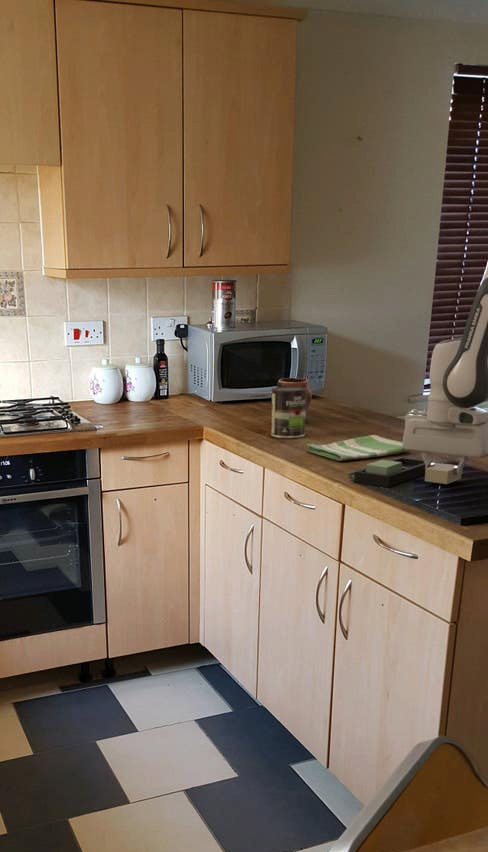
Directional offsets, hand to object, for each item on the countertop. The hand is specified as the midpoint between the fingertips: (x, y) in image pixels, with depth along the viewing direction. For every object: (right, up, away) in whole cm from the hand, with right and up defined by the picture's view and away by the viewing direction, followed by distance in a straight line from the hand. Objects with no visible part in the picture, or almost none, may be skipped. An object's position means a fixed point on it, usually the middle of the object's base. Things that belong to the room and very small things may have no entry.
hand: (443, 472), depth 201 cm
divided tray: (-9, 0, +9) cm, 13 cm away
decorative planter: (-22, +27, +86) cm, 93 cm away
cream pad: (0, -2, +1) cm, 2 cm away
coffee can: (-27, +19, +64) cm, 72 cm away
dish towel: (-11, +10, +37) cm, 40 cm away
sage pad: (-13, 0, +5) cm, 14 cm away
